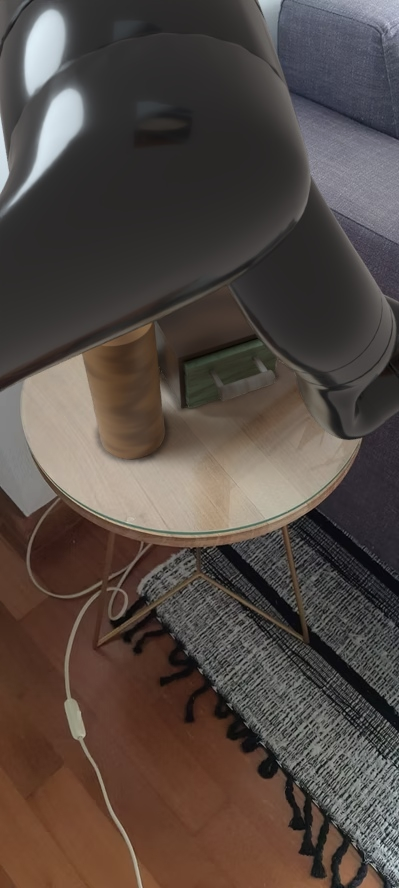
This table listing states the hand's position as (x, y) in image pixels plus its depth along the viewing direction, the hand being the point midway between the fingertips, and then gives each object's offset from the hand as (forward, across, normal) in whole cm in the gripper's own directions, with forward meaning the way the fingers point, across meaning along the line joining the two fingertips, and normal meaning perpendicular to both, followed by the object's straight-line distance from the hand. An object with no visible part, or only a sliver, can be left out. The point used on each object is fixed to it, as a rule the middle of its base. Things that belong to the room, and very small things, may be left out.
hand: (194, 153), depth 69 cm
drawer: (-6, 0, +26) cm, 26 cm away
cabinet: (-2, 0, +26) cm, 27 cm away
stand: (-10, +13, +26) cm, 31 cm away
